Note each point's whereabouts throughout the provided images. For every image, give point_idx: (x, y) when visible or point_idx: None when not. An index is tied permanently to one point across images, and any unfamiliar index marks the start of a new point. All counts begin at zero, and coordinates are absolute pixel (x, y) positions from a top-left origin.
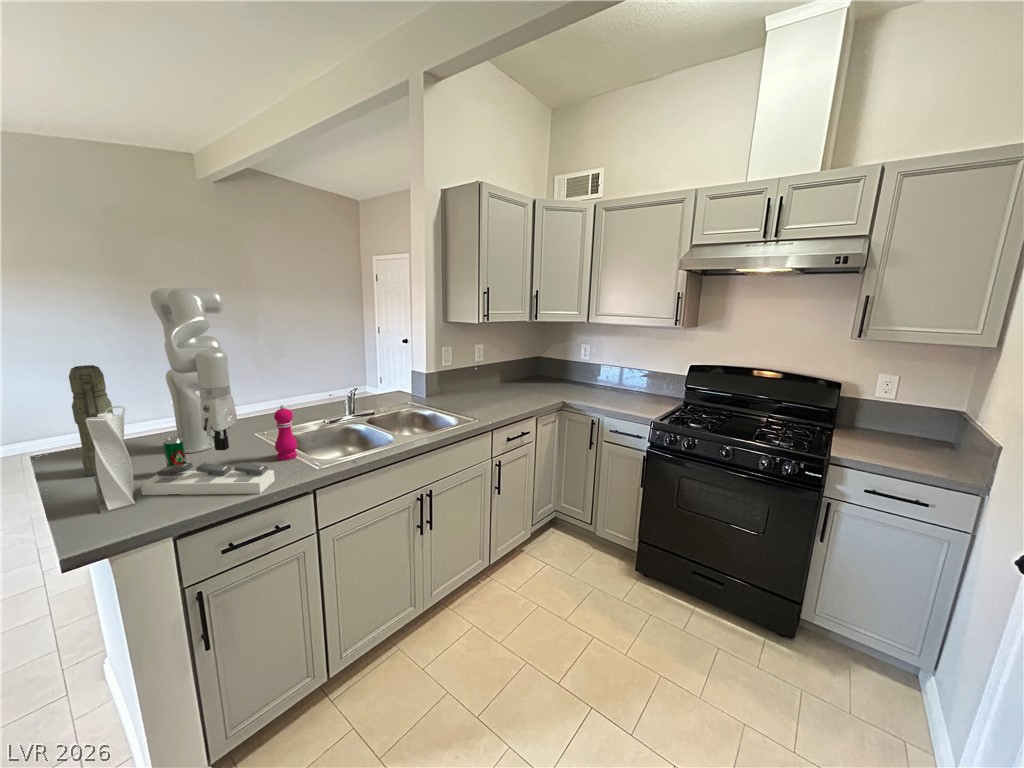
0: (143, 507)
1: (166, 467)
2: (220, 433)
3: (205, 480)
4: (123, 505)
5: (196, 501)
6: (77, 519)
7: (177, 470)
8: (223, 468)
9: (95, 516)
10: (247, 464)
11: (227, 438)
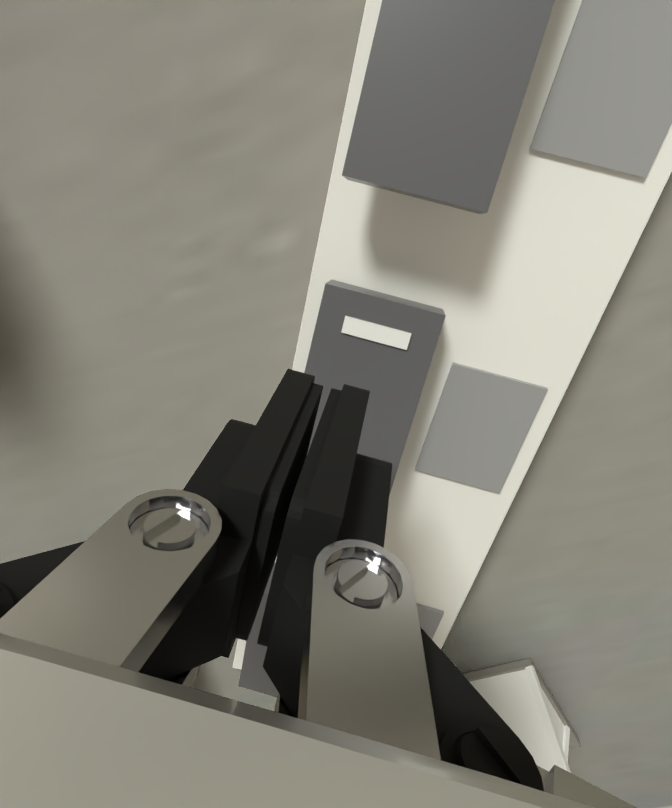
0: (587, 625)
1: (254, 682)
2: (424, 702)
3: (501, 426)
4: (545, 698)
5: (644, 404)
6: (597, 782)
7: None
8: (386, 339)
9: (598, 746)
10: (402, 77)
11: (254, 464)
